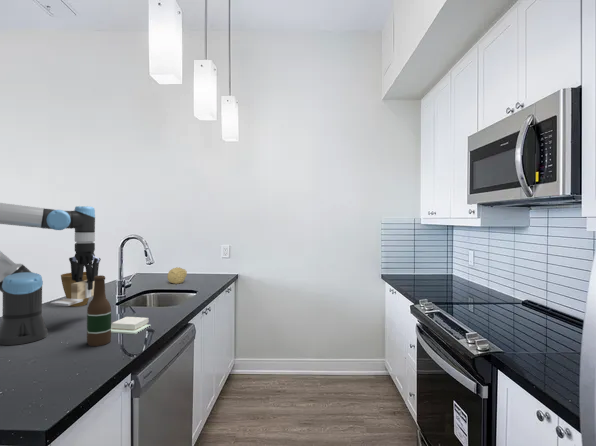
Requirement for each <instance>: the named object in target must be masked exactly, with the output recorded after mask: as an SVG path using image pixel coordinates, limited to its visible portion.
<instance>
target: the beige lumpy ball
mask: <svg viewBox="0 0 596 446" xmlns="http://www.w3.org/2000/svg"><path fill="white" fill-rule="evenodd" d="M187 273H188V272H187V270H186V269H185V268H182V267H178V266H177V267H173V268H172V269H169V271H168V273H167V281H168V282H169V283H172V284H177V285H178V284H182V283H184V281H185V279H186V277H187V275H188V274H187Z"/></svg>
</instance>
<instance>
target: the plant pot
mask: <svg viewBox="0 0 596 446" xmlns="http://www.w3.org/2000/svg"><path fill="white" fill-rule="evenodd" d="M60 279H61V284H62V289H63V292H64V295H65V298H67V299H71V284H72V283H76V281H74V280H72V275H71V272H65V273H62V274H60ZM82 280H83V281H85V280H87V276H86V271H83V278H82ZM89 299H90V297H89V298H85V299H83V301H82V302H79V303H76V304H73V305H69V306H70V307H76V308H77V307H83V306H85V305H87V304H88V302H89Z"/></svg>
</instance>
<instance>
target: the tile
mask: <svg viewBox="0 0 596 446" xmlns="http://www.w3.org/2000/svg"><path fill="white" fill-rule="evenodd" d="M148 323H149V317H142V316H141V317H137V316H124V317H123V318H120V319H118V320H115V321H113V322H111V328H113V329H124V330H136V329H138V328H140V327H142V326H144V325H146V324H148Z"/></svg>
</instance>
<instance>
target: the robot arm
mask: <svg viewBox="0 0 596 446" xmlns="http://www.w3.org/2000/svg"><path fill="white" fill-rule="evenodd" d="M0 225H7V226H8V225H9V226H18V227H29V228H37V229H43V230H44V229H46V230H54V231H63V230H65V229H67V230H68V229H71V230H74V252H75V254H74V256H72V257H69V258H68V260H69V262H70V273H71V275H72V280H74V281H76V283H77V282H81V281H83V280H82V278H83V272H86V276H87V281H86V283H85V298H89V299H90V298H92V297H91V290H92V289H93V281H95V280H94V277H95V276H99V267H100V262H101V258H100V257H97V256H96V255H95V250H96V243H95V242H96V233H95V232H96V210H95V207H93V206H88V205H87V206H80V205H79V206H77V205H76V206H75V207H74V210H63V209H53V208H45V207H39V206H37V207H36V206H31V205H30V206H28V205H21V204H14V203H5V202H4V203H3V202H0ZM84 270H85V271H84ZM43 282H44V281H43V277H42V275H41V274H40V273H37V272H36V273H35V272H34V271H31V270H30V269H28V267H27V266H25V264H23V263H16V262H14V261H13V260H11V259H10V258H9V257H8V256H7V255H6V254H5V253H4V252H3V251H1V250H0V292H1V293H2V316H1V317H2V319H1V323H0V345H2V346H15V345H22V344H28V343H33V342H37V341H40V340H43V339H44V338H46V337H47V336H48V327H47V326H46V324H45V319H44V318H43V285H44V284H43Z"/></svg>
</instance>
